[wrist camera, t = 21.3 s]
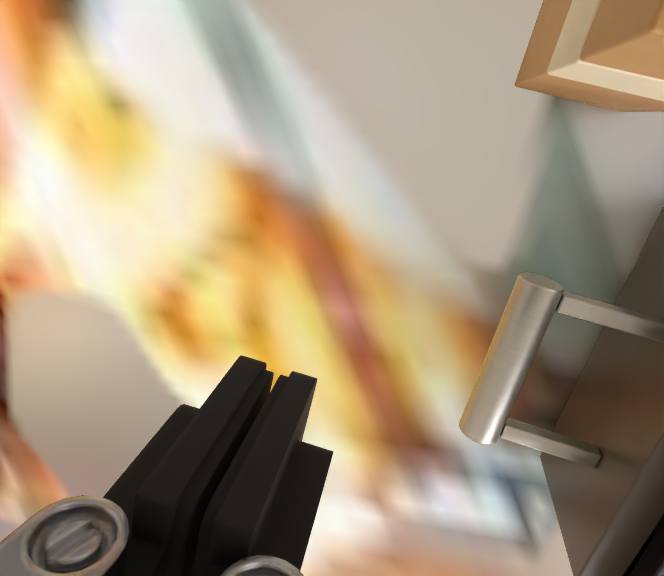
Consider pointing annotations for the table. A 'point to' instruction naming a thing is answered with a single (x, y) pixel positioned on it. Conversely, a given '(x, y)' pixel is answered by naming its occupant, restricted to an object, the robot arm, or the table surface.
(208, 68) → the table surface
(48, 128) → the table surface
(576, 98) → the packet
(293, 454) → the robot arm
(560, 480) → the drawer
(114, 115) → the table surface
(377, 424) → the table surface
